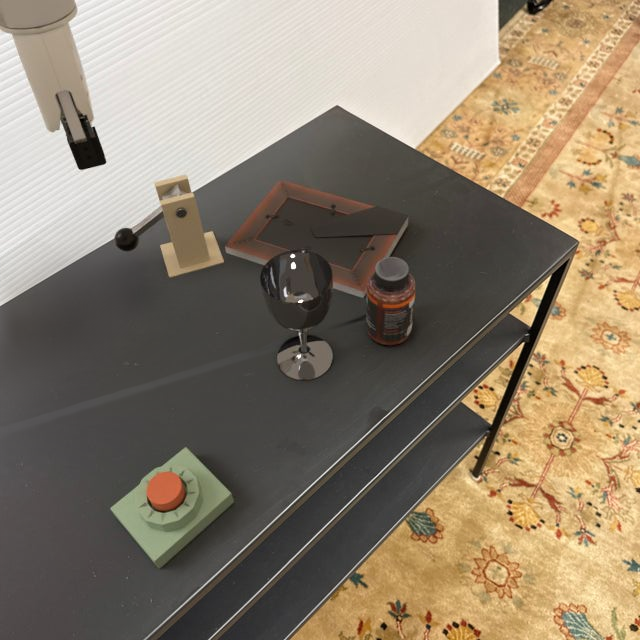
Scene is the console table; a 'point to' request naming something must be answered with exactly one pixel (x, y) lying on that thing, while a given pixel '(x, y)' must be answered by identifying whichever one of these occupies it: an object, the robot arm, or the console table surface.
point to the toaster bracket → (185, 231)
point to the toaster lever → (143, 224)
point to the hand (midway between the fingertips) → (92, 163)
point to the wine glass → (299, 309)
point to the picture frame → (320, 232)
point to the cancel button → (165, 491)
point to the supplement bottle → (390, 302)
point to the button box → (180, 523)
